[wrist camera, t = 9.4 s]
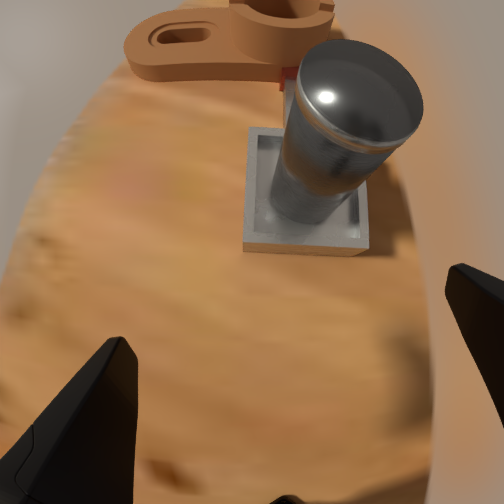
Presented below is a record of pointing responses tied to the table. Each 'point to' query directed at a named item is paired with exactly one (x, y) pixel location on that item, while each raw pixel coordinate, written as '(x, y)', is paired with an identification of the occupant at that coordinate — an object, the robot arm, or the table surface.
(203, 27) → the bracket
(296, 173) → the dark metal cylinder
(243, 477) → the table surface
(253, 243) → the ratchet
